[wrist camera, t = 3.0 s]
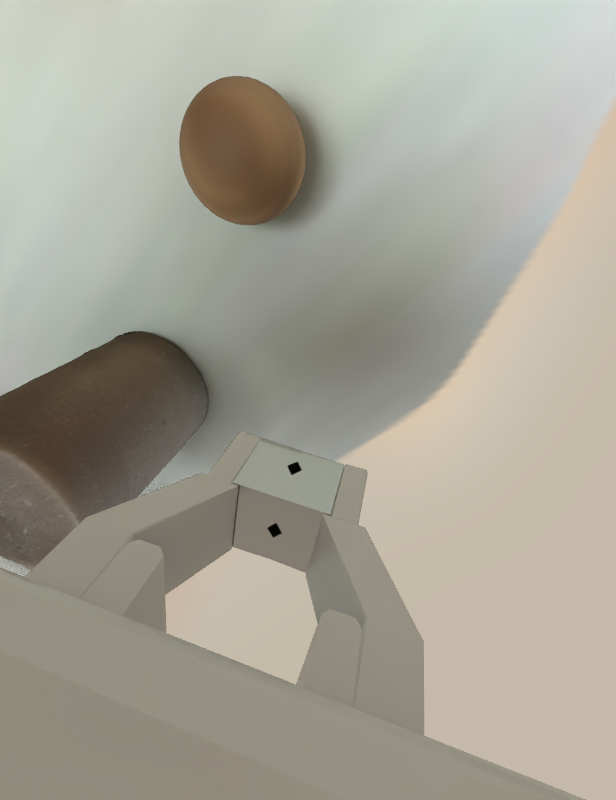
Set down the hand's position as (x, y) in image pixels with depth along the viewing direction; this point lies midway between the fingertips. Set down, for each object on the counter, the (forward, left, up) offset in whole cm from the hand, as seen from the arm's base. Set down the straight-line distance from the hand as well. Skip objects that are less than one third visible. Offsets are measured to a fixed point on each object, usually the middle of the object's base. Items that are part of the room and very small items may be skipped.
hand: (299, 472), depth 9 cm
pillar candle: (-18, +5, -17) cm, 25 cm away
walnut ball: (0, +10, -14) cm, 17 cm away
